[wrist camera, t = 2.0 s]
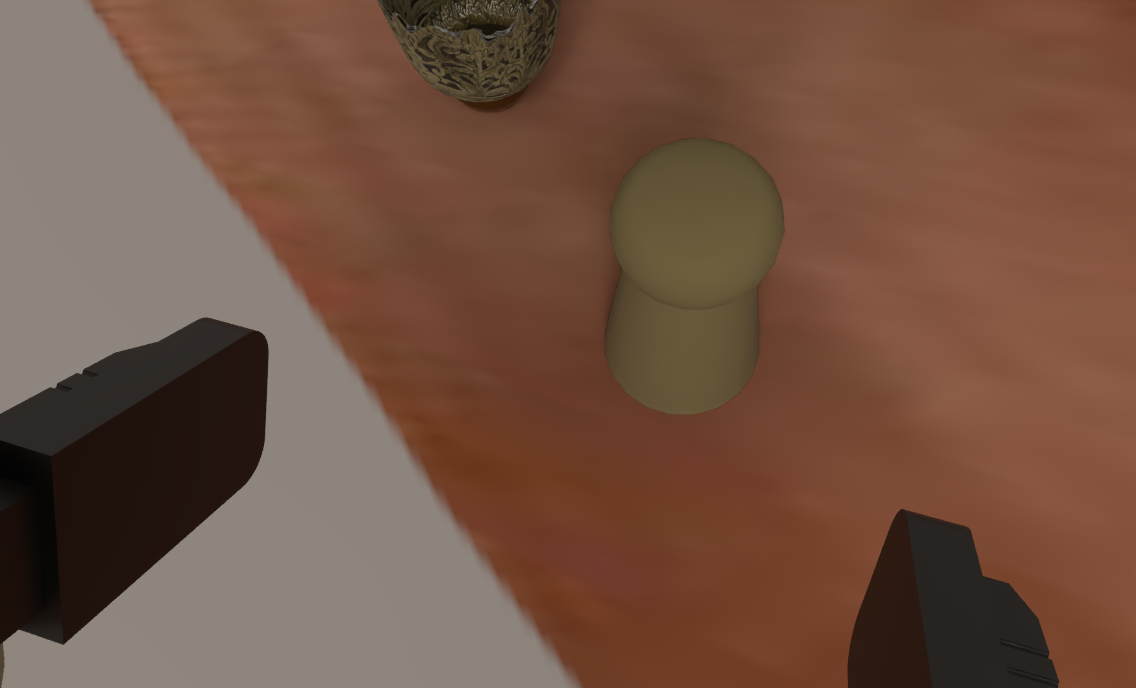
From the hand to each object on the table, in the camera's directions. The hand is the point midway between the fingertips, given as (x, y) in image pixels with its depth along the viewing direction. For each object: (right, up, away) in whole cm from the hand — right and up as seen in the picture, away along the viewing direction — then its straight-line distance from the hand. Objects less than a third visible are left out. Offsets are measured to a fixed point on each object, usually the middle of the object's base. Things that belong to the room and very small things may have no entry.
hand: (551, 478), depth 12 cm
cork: (+5, +2, +25) cm, 26 cm away
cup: (-3, +13, +31) cm, 34 cm away
